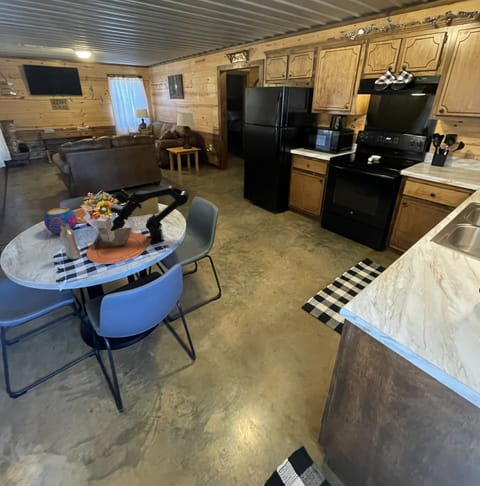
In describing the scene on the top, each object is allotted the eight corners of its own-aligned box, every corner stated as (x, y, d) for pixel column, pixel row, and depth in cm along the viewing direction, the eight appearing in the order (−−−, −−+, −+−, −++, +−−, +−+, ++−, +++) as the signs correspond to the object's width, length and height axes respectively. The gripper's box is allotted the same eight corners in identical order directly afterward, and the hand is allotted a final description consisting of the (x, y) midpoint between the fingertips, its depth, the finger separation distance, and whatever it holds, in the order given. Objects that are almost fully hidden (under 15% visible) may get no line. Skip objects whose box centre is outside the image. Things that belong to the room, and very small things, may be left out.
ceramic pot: (82, 223, 182) (76, 203, 176) (76, 235, 167) (70, 214, 161) (53, 227, 177) (46, 207, 171) (44, 240, 161) (36, 218, 156)
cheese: (128, 219, 189) (125, 199, 183) (126, 214, 197) (123, 195, 191) (159, 213, 199) (157, 194, 193) (156, 208, 207) (154, 190, 201)
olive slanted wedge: (131, 229, 174) (130, 223, 173) (124, 246, 154) (122, 239, 153) (105, 231, 172) (104, 225, 170) (95, 249, 152) (93, 242, 150)
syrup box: (115, 237, 161) (110, 216, 155) (109, 242, 156) (105, 220, 150) (106, 237, 161) (101, 215, 156) (100, 242, 156) (95, 220, 150)
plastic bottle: (75, 261, 140) (65, 228, 132) (64, 260, 141) (53, 227, 133) (83, 255, 146) (75, 223, 138) (73, 254, 147) (64, 222, 139)
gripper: (120, 194, 159) (105, 212, 161) (113, 206, 142) (95, 226, 144) (136, 205, 163) (121, 223, 166) (130, 218, 146) (113, 237, 149)
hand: (113, 227), depth 156 cm, fingers open, 9 cm apart
